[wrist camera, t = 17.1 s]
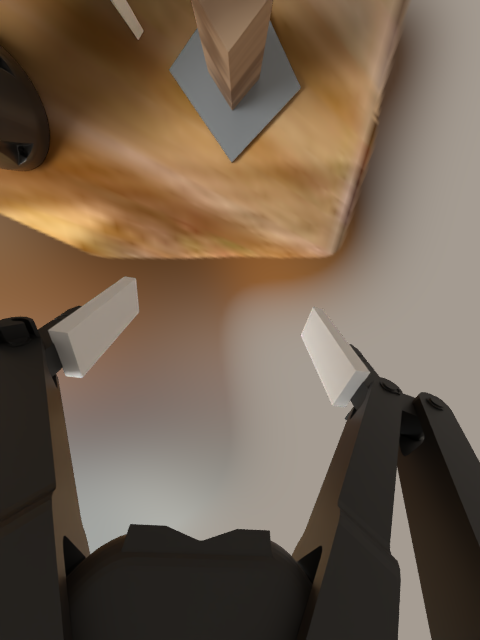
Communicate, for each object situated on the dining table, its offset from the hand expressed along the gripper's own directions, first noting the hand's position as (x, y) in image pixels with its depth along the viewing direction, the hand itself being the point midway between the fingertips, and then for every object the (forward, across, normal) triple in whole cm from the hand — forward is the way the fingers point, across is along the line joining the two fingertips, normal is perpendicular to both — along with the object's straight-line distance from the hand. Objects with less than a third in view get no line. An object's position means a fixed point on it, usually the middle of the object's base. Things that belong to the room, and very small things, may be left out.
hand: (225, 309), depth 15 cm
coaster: (+29, -3, +21) cm, 36 cm away
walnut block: (+28, -3, +21) cm, 35 cm away
